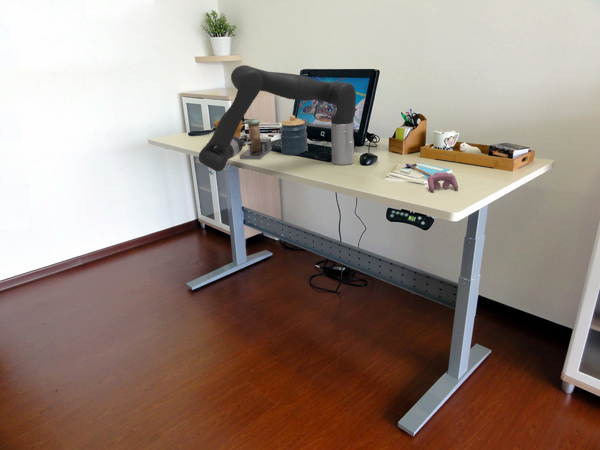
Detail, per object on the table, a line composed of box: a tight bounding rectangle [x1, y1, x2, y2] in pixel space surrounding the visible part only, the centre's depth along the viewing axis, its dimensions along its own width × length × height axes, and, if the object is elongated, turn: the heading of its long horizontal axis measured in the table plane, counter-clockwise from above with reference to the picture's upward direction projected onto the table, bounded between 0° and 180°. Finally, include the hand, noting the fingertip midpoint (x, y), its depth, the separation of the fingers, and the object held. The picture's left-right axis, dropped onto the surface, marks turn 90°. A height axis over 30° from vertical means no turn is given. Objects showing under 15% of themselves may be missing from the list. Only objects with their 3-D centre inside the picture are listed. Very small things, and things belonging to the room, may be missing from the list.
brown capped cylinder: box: [246, 118, 261, 152], centre depth 198 cm, size 6×6×15 cm
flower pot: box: [214, 119, 243, 137], centre depth 217 cm, size 14×14×13 cm
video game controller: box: [426, 171, 459, 193], centre depth 143 cm, size 10×5×7 cm, turn 93°
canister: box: [279, 114, 309, 156], centre depth 198 cm, size 13×13×18 cm
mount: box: [239, 138, 273, 160], centre depth 200 cm, size 10×18×6 cm, turn 166°
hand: (245, 137), depth 186 cm, fingers closed
